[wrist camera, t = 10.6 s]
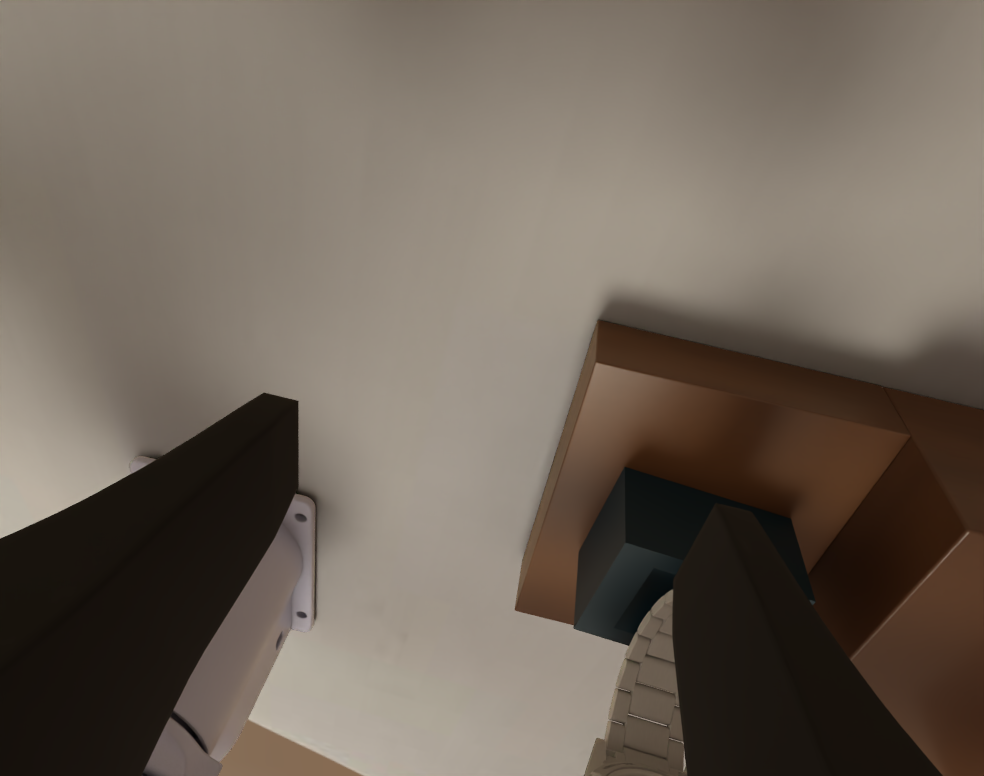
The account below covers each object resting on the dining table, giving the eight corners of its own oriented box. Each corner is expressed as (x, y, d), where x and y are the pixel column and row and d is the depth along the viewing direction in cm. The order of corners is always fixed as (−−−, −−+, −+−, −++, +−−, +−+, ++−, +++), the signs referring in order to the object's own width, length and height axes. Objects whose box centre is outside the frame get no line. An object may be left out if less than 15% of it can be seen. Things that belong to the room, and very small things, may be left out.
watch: (560, 584, 24) (526, 972, 15) (647, 425, 19) (672, 854, 10) (704, 628, 24) (754, 1039, 15) (825, 481, 19) (1006, 955, 10)
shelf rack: (920, 659, 26) (1052, 973, 18) (521, 561, 27) (480, 825, 19) (1141, 446, 19) (1515, 804, 11) (597, 319, 20) (583, 575, 12)
